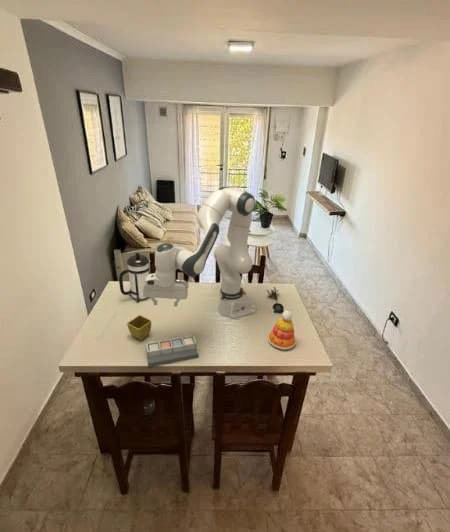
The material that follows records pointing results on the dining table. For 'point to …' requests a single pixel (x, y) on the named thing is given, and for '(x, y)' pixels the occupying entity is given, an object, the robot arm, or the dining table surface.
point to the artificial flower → (277, 307)
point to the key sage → (153, 347)
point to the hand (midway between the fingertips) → (165, 305)
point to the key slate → (176, 342)
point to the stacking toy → (283, 332)
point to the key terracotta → (165, 345)
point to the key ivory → (188, 341)
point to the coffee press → (136, 275)
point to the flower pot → (139, 327)
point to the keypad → (171, 352)
